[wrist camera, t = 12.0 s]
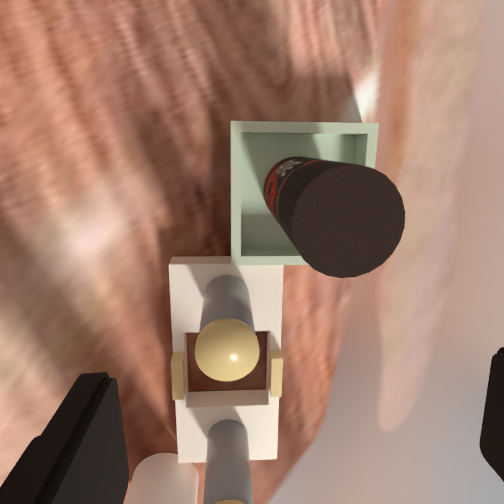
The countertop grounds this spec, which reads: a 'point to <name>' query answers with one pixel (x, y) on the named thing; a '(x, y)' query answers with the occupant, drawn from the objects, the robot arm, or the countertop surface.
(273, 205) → the deodorant
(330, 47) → the countertop surface
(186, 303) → the fuse block
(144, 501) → the cylindrical container
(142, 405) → the countertop surface
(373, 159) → the tray
